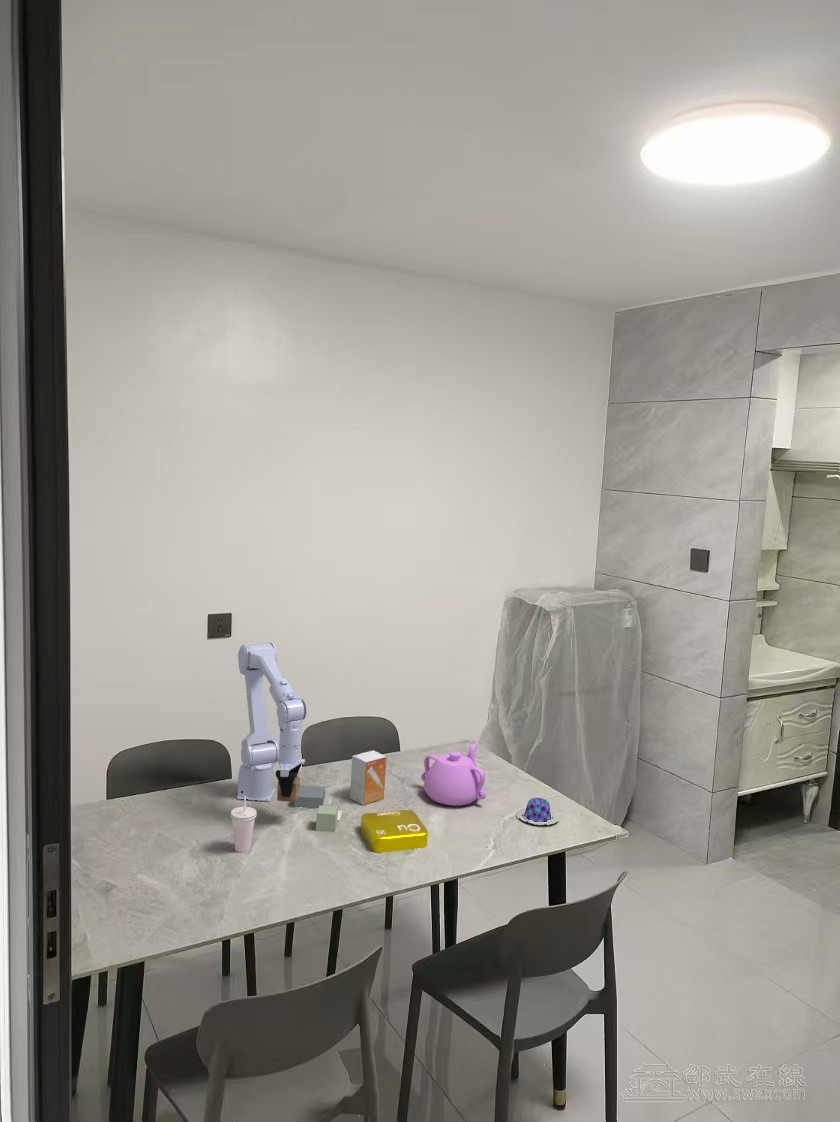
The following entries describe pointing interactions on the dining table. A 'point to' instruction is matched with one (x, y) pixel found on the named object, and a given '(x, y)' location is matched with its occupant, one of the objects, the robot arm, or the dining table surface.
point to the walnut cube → (293, 794)
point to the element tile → (393, 831)
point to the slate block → (310, 796)
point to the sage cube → (326, 818)
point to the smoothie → (243, 826)
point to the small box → (368, 777)
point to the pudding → (538, 810)
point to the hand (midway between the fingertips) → (288, 792)
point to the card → (339, 815)
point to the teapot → (454, 778)
